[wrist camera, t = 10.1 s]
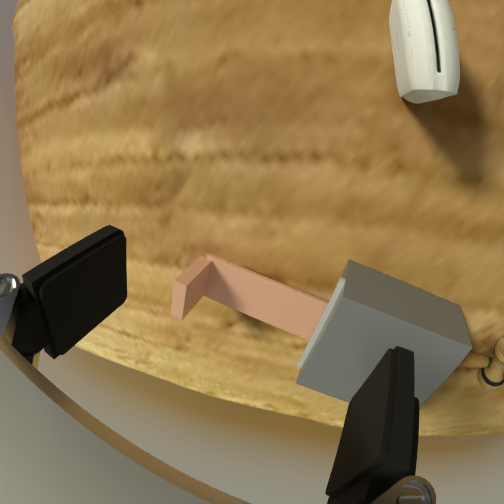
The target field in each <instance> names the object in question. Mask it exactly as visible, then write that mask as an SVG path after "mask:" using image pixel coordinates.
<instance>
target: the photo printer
mask: <svg viewBox="0 0 504 504" xmlns="http://www.w3.org/2000/svg"><path fill="white" fill-rule="evenodd" d="M389 25H390V34H391V43H392V51H393V59H394V67H395V75H396V82H397V88H398V92H399V96H400V97H403V98H404V99H406V100H407V101H409V102H412V103H416V104H420V103H425V102H429V101H434V100H439V99H443V98H445V97H448V96H453V95H457V92H458V87H459V82H460V59H459V47H458V39H457V33H456V27H455V23H454V18H453V14H452V10H451V7H450V4H449V1H448V0H392V4H391V10H390V17H389Z"/></svg>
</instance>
